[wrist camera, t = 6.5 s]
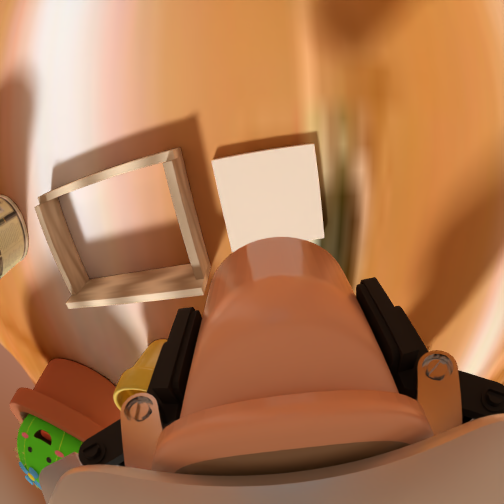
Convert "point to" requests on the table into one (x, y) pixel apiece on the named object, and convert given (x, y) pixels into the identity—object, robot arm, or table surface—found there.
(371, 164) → the table surface
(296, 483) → the robot arm
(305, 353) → the terracotta pot
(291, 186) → the stone tile
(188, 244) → the frame
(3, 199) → the coffee can
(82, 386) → the potted cactus
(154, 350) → the plant pot
